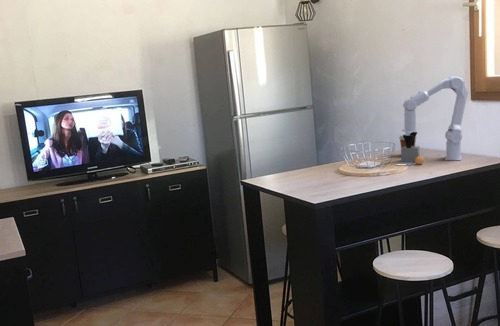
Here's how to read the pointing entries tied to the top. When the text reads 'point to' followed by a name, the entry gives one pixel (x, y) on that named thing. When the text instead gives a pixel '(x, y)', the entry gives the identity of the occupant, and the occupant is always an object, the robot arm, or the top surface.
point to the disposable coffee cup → (404, 140)
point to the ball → (419, 160)
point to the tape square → (405, 163)
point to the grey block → (410, 153)
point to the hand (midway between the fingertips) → (410, 146)
